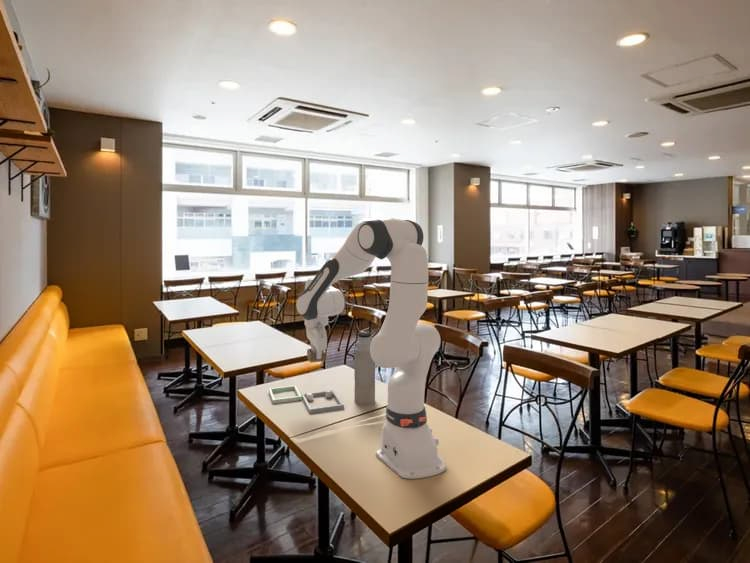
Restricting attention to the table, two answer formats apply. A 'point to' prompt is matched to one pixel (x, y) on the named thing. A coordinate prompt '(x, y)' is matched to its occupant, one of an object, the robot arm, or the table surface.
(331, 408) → the slate tray
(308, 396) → the pebble
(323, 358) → the scoop cup
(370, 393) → the thermos bottle
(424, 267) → the robot arm
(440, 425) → the table surface
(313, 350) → the stone
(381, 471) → the table surface
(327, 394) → the pebble
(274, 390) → the green tray
